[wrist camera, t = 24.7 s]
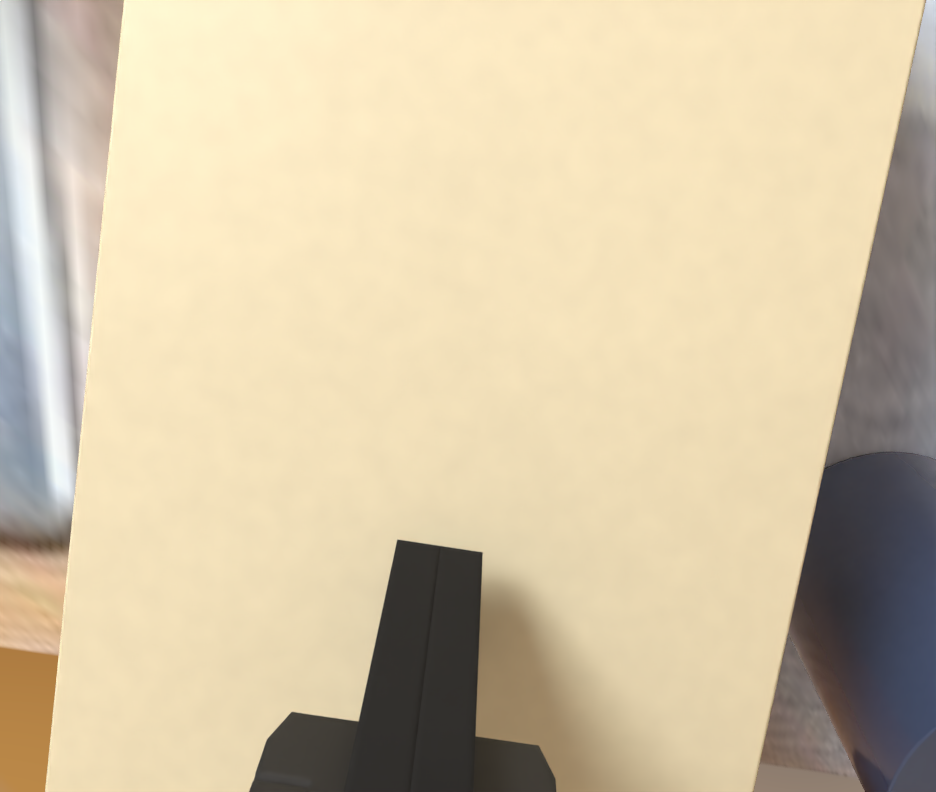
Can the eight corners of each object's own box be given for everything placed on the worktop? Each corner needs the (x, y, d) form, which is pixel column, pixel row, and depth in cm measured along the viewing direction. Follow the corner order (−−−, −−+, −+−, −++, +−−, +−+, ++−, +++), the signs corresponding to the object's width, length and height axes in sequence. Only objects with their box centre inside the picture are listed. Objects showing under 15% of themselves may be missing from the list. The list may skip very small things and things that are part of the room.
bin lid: (719, 869, 16) (732, 898, 16) (62, 775, 16) (42, 800, 15) (945, -184, 14) (974, -213, 13) (174, -320, 14) (157, -358, 13)
